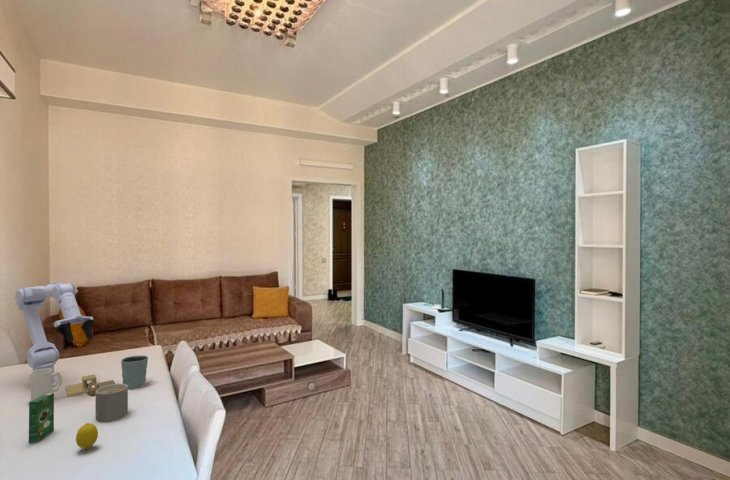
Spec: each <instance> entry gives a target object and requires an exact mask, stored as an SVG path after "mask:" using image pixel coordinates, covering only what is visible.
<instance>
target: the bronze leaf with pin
mask: <svg viewBox="0 0 730 480" xmlns="http://www.w3.org/2000/svg"><path fill="white" fill-rule="evenodd" d="M112 384H116V382H115V381H114V380H113V379H112V380H107V381H101V382H96V383H92V381H88V384H87V388H86V391H87V392H88V394H89V395H90V396H95V392H96V390H97V389H99V388H101V387H104V386H107V385H112Z"/></svg>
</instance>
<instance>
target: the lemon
mask: <svg viewBox="0 0 730 480" xmlns="http://www.w3.org/2000/svg"><path fill="white" fill-rule="evenodd" d="M98 437H99V432H98V428H97V426H96V425H95V424H93V423H89V422H86V423H85V424H83V425H81V426H80V428H79V429H78V430H77V433H76V436H75V442H76V444H77V447H79V448H81V449H85V450H88V449H90V447H92V446H93V445H94V444H96V442H97V440H98Z"/></svg>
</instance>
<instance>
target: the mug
mask: <svg viewBox="0 0 730 480" xmlns="http://www.w3.org/2000/svg"><path fill="white" fill-rule="evenodd" d="M53 376H54V377H57V378H58V384H57V386H55V387H53V386H52V377H53ZM29 381H30V385H29V386H30V401H32V400H34V399H36V398H38V397H40V396H42V395H43V394H45V393H57V392H59V390H60V388H61V386H62V384H63V377H62V375H61V373H60V371H54V373H52V369H49V368H46V369H39V370H35V371H33V370H32V371H30V372H29Z"/></svg>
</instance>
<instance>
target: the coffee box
mask: <svg viewBox="0 0 730 480" xmlns="http://www.w3.org/2000/svg"><path fill="white" fill-rule="evenodd" d="M54 429H55V392H53V393H45V394H43V395H42V396H40V397H38V398H36V399H34V400H32V401H31V400H30V401H29V402H28V443H29V444H34V443H38V442H39V441H41V440H42V439H44V438H45V437H46V436H48V435H50V434H51V433H52V432H53V431H55V430H54Z"/></svg>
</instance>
